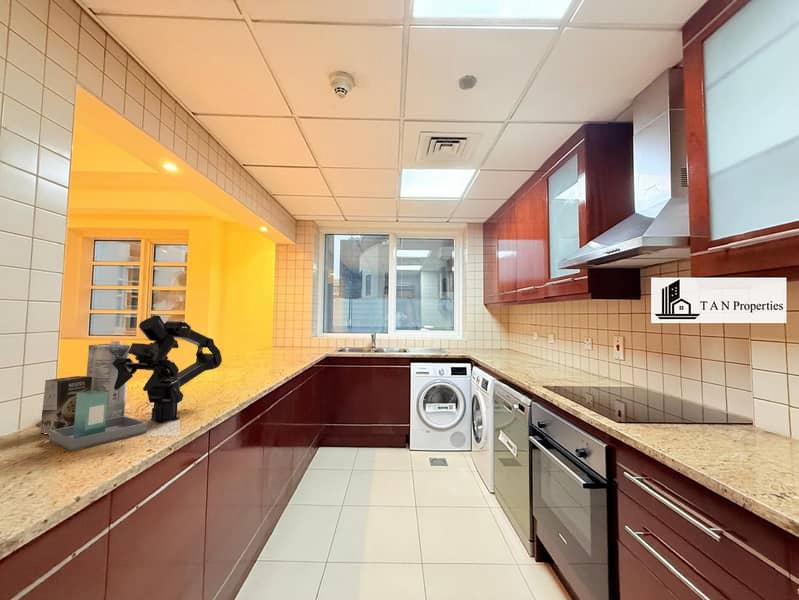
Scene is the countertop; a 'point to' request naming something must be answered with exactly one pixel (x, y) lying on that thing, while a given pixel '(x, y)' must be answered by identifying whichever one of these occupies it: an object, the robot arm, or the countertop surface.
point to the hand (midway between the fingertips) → (129, 389)
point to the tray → (113, 431)
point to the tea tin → (90, 413)
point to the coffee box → (62, 401)
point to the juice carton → (108, 374)
